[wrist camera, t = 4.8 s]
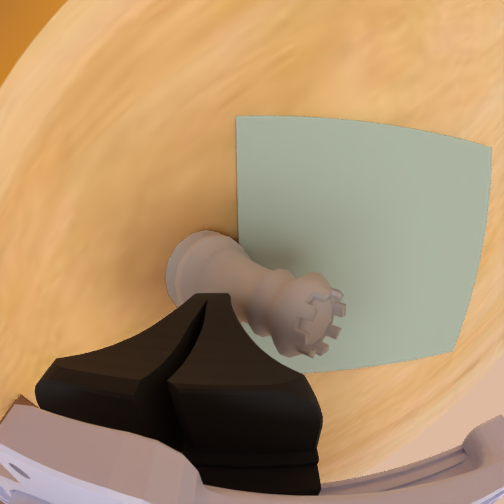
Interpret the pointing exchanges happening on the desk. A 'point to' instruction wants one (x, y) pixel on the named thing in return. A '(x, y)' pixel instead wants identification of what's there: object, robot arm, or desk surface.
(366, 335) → the mat
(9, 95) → the desk surface
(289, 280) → the rook chess piece
